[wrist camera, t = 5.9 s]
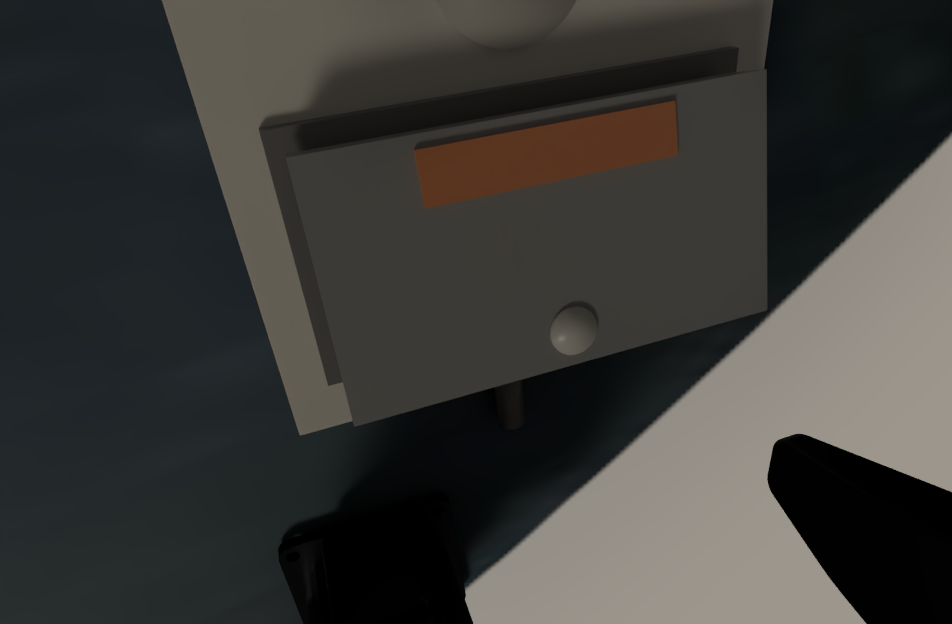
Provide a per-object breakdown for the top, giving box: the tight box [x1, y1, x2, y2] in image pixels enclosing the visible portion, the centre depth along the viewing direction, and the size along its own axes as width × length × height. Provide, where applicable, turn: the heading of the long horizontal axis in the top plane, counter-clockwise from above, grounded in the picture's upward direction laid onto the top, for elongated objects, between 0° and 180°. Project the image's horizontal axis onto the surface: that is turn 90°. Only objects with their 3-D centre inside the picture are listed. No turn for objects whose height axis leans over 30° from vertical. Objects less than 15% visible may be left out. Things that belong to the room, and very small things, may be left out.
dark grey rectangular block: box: [285, 69, 767, 427], centre depth 15 cm, size 6×11×1 cm, turn 96°
